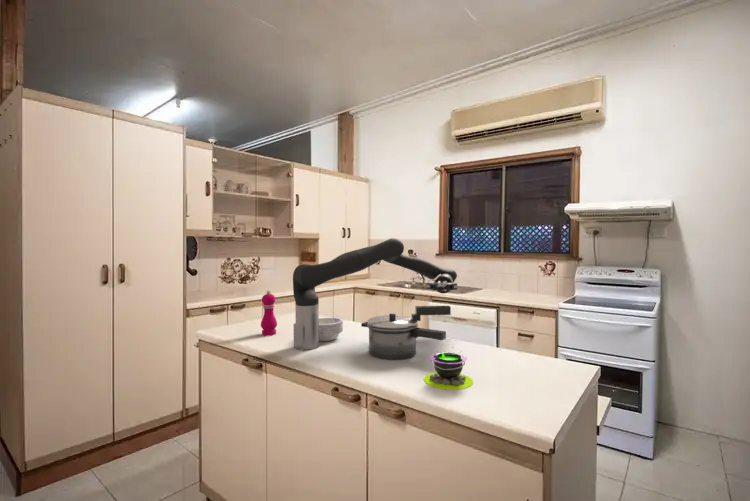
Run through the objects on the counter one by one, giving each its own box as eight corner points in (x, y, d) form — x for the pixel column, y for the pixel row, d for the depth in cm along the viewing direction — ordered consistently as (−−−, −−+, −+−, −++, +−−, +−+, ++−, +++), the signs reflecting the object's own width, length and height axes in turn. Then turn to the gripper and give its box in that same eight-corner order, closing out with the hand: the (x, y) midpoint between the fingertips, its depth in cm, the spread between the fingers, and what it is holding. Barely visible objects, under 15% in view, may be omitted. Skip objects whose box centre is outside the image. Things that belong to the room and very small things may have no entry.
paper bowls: (303, 336, 174) (303, 318, 173) (336, 332, 180) (336, 315, 180) (313, 345, 160) (313, 325, 160) (348, 340, 166) (347, 322, 166)
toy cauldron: (416, 384, 117) (416, 348, 116) (433, 369, 130) (433, 337, 130) (466, 394, 110) (466, 355, 109) (478, 377, 123) (478, 342, 123)
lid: (368, 329, 139) (368, 312, 139) (367, 318, 157) (367, 303, 157) (455, 328, 140) (455, 310, 140) (444, 317, 159) (444, 302, 159)
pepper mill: (274, 336, 175) (274, 291, 174) (258, 335, 175) (258, 291, 174) (279, 332, 182) (278, 289, 181) (263, 332, 182) (263, 289, 181)
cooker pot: (350, 353, 148) (350, 324, 147) (377, 342, 164) (376, 316, 164) (433, 369, 130) (433, 336, 129) (454, 354, 146) (454, 325, 145)
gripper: (428, 274, 172) (423, 279, 155) (459, 275, 168) (457, 279, 152) (428, 291, 172) (423, 298, 155) (459, 292, 169) (457, 298, 152)
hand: (440, 289), depth 154 cm, fingers closed
